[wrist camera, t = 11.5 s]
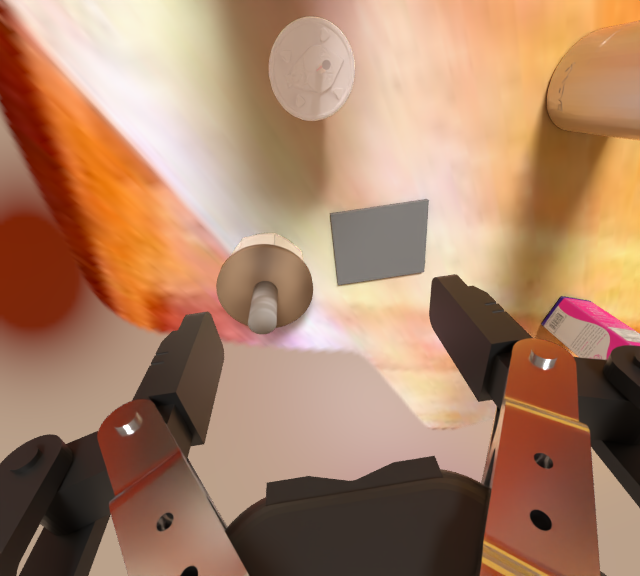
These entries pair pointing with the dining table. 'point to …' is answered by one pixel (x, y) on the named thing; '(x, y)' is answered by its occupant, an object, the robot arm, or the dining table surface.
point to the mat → (380, 241)
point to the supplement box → (588, 328)
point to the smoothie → (311, 68)
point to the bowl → (268, 242)
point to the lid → (264, 287)
